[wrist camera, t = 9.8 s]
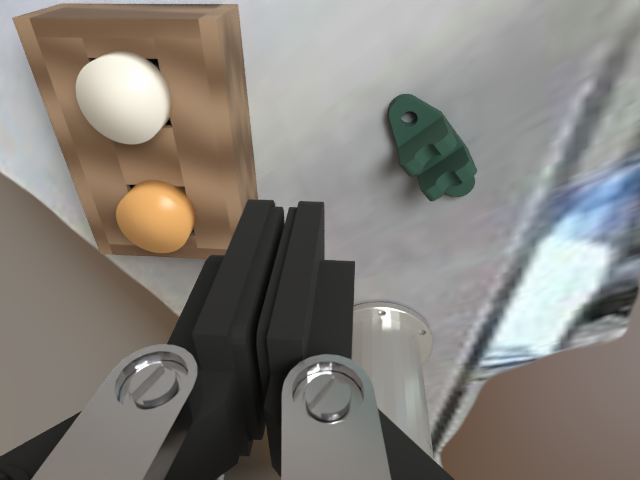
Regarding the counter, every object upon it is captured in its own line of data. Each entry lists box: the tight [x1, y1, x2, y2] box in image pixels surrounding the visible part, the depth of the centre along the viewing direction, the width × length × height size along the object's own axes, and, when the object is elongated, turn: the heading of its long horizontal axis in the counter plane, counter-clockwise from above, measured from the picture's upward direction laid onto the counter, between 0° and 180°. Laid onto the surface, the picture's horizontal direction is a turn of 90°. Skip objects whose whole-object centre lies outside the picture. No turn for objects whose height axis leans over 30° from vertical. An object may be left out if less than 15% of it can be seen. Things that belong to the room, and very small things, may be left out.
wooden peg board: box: [12, 4, 258, 259], centre depth 38 cm, size 20×14×6 cm
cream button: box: [76, 51, 173, 144], centre depth 33 cm, size 6×6×6 cm
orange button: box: [116, 180, 196, 253], centre depth 39 cm, size 6×6×6 cm
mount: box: [389, 94, 477, 201], centre depth 37 cm, size 11×4×5 cm, turn 41°
